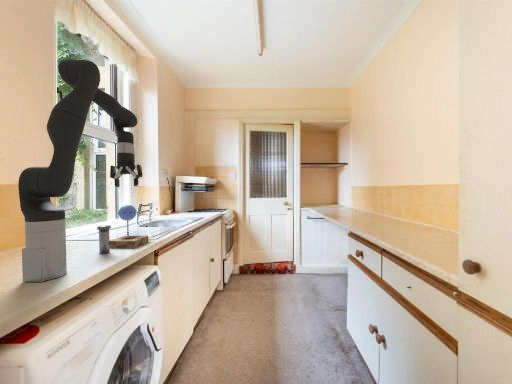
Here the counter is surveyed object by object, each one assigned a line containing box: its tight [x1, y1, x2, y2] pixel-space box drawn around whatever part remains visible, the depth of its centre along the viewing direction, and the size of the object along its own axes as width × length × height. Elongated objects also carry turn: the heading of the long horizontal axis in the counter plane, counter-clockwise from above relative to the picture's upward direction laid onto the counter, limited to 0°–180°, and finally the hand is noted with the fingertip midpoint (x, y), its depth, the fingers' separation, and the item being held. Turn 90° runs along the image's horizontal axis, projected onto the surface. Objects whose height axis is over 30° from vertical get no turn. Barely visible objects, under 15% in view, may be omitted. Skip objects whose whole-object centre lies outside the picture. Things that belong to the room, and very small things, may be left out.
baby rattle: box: [117, 204, 137, 236], centre depth 126 cm, size 9×9×18 cm
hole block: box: [109, 235, 150, 249], centre depth 112 cm, size 12×12×3 cm
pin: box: [96, 224, 112, 255], centre depth 98 cm, size 5×5×11 cm
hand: (126, 186), depth 115 cm, fingers open, 8 cm apart
